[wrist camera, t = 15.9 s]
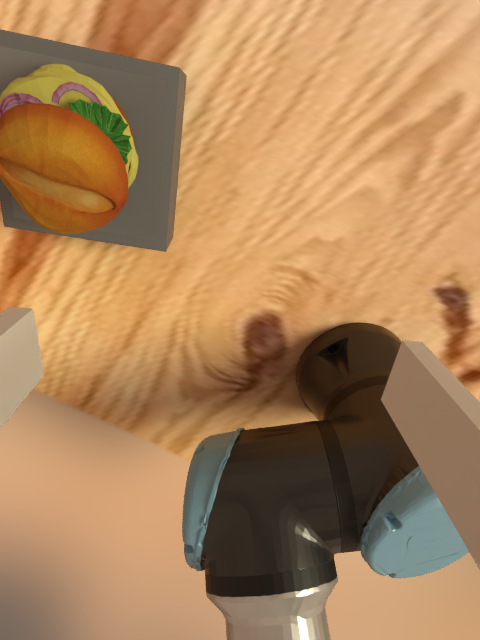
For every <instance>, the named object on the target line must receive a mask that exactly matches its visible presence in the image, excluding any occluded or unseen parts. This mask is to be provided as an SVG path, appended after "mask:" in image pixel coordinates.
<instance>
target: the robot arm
mask: <svg viewBox="0 0 480 640" xmlns="http://www.w3.org/2000/svg"><path fill="white" fill-rule="evenodd" d="M43 376H44V371H43V365H42V359H41V353H40V347H39V342H38V336H37V330H36V324H35V318H34V312H33V309H29V308H18V307H9V308H7V309H6V310H5V311H3V312H2V313H1V314H0V429H1V428H2V427H3V425H4V424H5V423H6V422H7V421H8V419H9V418H10V417H11V416H12V414H13V413H14V412H15V411H16V409H17V408H18V407H19V406H20V404H21V403H22V402H23V401H24V399H25V398H26V397H27V396H28V394H29V393H30V392H31V391H32V389H33V388H34V387H35V386H36V384H37V383H38V382H39V381H40V379H41V378H42V377H43ZM296 382H297V386H298V390H299V393H300V396H301V398H302V400H303V402H304V404H305V405H306V407H307V408H308V409H309V410H310V411H311V412H312V413H313V414H314V415H315V416H316V418H317V419H318V420H319V421H311V422H303V423H296V424H289V425H282V426H274V427H266V428H257V429H249V430H245V429H244V428H240V429H238V430H236V431H233V432H228V433H222V434H217V435H212V436H209V437H207V438H205V439H204V440H203V441H202V442H201V443H200V444H199V445H198V447H197V448H196V450H195V452H194V455H193V458H192V460H191V464H190V468H189V472H188V476H187V482H186V488H185V495H184V505H183V523H182V528H183V529H182V532H183V541H184V543H185V544H184V554H185V559H186V562H187V564H188V565H189V566H190V567H191V568H194V569H196V570H197V571H202V570H205V579H206V595H207V597H208V598H209V599H210V600H211V601H212V603H214V605H215V606H216V607H217V608H218V609H219V610H220V611H221V612H222V613H223V615H224V617H225V619H226V635H227V640H331V639H330V634H329V627H328V622H327V616H326V610H325V605H326V601H327V599H328V596H329V595H330V594H331V592H332V590H333V589H334V587H335V585H336V584H337V582H338V577H337V573H336V567H335V562H334V554H336V553H344V552H353V551H361V554H362V557H363V558H364V560H365V561H366V562H367V563H368V565H369V566H370V568H371V569H372V570H373V571H375V572H377V573H378V574H380V575H383V576H386V575H389V576H391V577H392V578H407V577H415V576H420V575H424V574H427V573H430V572H433V571H436V570H438V569H441V568H443V567H445V566H447V565H449V564H451V563H453V562H455V561H456V560H458V559H460V558H461V557H463V556H464V555H465V554H466V553H468V552H470V554H471V555H472V557H473V559H474V560H475V562H476V564H477V566H478V567H479V569H480V402H479V401H478V400H477V399H476V398H475V397H474V396H473V395H472V394H471V393H470V392H469V391H468V390H467V389H466V388H465V386H464V385H463V384H462V383H461V382H460V381H459V380H458V379H457V378H456V377H455V376H454V375H453V374H452V373H451V372H450V371H449V370H448V369H447V368H446V367H445V366H444V364H443V363H442V362H441V361H440V360H439V359H438V358H437V357H436V356H435V355H434V354H433V353H432V352H431V351H430V350H429V349H428V348H427V347H426V346H425V345H424V344H423V343H422V342H413V341H402V342H401V341H400V339H399V338H398V337H397V336H396V335H395V334H394V333H392V332H391V331H389V330H387V329H386V328H383V327H381V326H378V325H374V324H367V323H355V324H348V325H343V326H340V327H337V328H334V329H332V330H330V331H328V332H326V333H324V334H322V335H321V336H319V337H318V338H317V339H315V340H314V341H313V342H312V343H311V344H310V345H309V346H308V347H307V348H306V350H305V351H304V352H303V354H302V356H301V357H300V360H299V362H298V365H297V370H296Z"/></svg>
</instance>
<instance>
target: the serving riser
mask: <svg viewBox="0 0 480 640" xmlns="http://www.w3.org/2000/svg"><path fill="white" fill-rule="evenodd" d="M48 64H64V65H67V66H70V67H71V68H72V69H74V70H75V71H76V72H77V73H80V74H82V75H85V76H87V77H90V78H92V79H93V80H95V81H96V82H98V83H99V84H101V85H102V86H103V87H104V88H105V89H106V90H107V92H108V93H109V94H110V95H111V96H112V97H113V99H114V100H115V101H116V102H117V103H118V105H119V106H120V107H121V108H122V109H123V111H124V113H125V115H126V118H127V120H128V122H129V125H130V127H131V129H132V132H133V134H134V147H135V150H136V153H137V155H138V160H139V161H138V170H137V174H136V178H135V180H134V181H133V183H132V184H131V186H130V187H129V188H128V199H127V202H126V204H125V205H124V207H123V208H122V210H121V211H120V213H119V214H118V215H117V216H116V217H115V218H114V219H113V220H112V221H110V222H109V223H107V224H106V225H105V226H103V227H101V228H98V229H96V230H93V231H89V232H85V233H74V234H60V233H56V232H51V231H49V230H47V229H45V228H43V227H41V226H39V225H37V224H36V223H35V222H34V221H33V220H32V219H31V218H30V217H29V216H28V215H27V214H26V213H25V212H24V210H23V209H22V208H21V206H20V205H19V204H18V202H17V201H16V199H15V198H14V197H13V195H12V194H11V193H10V191H9V190H8V188H7V187H6V186H5V184H4V183H3V181H2V180H1V179H0V201H1V208H2V215H3V222H4V226H5V227H12V228H18V229H24V230H31V231H37V232H43V233H50V234H56V235H63V236H69V237H75V238H82V239H88V240H95V241H101V242H107V243H114V244H120V245H126V246H133V247H139V248H146V249H152V250H158V251H165V252H166V250H167V248H168V246H169V244H170V242H171V240H172V238H173V230H174V218H175V206H176V194H177V183H178V171H179V159H180V147H181V135H182V123H183V111H184V100H185V88H186V74H185V73H184V72H183V71H182V70H181V69H180V68H178V67H174V66H169V65H164V64H160V63H155V62H150V61H145V60H141V59H136V58H131V57H127V56H122V55H117V54H113V53H108V52H103V51H99V50H94V49H89V48H85V47H80V46H75V45H70V44H66V43H61V42H56V41H52V40H47V39H42V38H38V37H33V36H28V35H24V34H19V33H14V32H9V31H5V30H0V96H1V94H2V92H3V91H4V90H5V89H6V87H7V86H8V85H9V83H11V82H12V81H14V80H15V79H17V78H22V77H27V76H28V75H30V74H31V73H32V72H34V71H35V70H38V69H39V68H40V67H41V66H43V65H48Z"/></svg>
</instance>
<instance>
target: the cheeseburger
mask: <svg viewBox="0 0 480 640" xmlns="http://www.w3.org/2000/svg"><path fill="white" fill-rule="evenodd" d="M138 161H139V160H138V155H137V153H136V150H135V147H134V134H133V132H132V129H131V127H130V125H129V122H128V120H127V118H126V115H125V113H124V111H123V109H122V108H121V107H120V106H119V105H118V103H117V102H116V101H115V100H114V99H113V97H112V96H111V95H110V94H109V93H108V92H107V90H106V89H105V88H104V87H103V86H102V85H101V84H99V83H98V82H96V81H95V80H93V79H92V78H90V77H87V76H85V75H82V74H80V73H77V72H76V71H75V70H74V69H72V68H71V67H70V66H67V65H64V64H48V65H43V66H41V67H40V68H39V69H38V70H35V71H34V72H32V73H31V74H30V75H28V76H27V77H22V78H17V79H15V80H14V81H12V82H11V83H9V85H8V86H7V87H6V89H5V90H4V91H3V92H2V94H1V96H0V179H1V180H2V181H3V183H4V184H5V186H6V187H7V188H8V190H9V191H10V193H11V194H12V195H13V197H14V198H15V199H16V201H17V202H18V204H19V205H20V206H21V208H22V209H23V210H24V212H25V213H26V214H27V215H28V216H29V217H30V218H31V219H32V220H33V221H34V222H35V223H36V224H37V225H39V226H41V227H43V228H45V229H47V230H49V231H51V232H56V233H60V234H74V233H85V232H89V231H93V230H96V229H98V228H101V227H103V226H105V225H106V224H107V223H109V222H110V221H112V220H113V219H114V218H115V217H116V216H117V215H118V214H119V213H120V211H121V210H122V208H123V207H124V205H125V204H126V202H127V199H128V188H129V187H130V186H131V184H132V183H133V181H134V180H135V178H136V174H137V170H138Z"/></svg>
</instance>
